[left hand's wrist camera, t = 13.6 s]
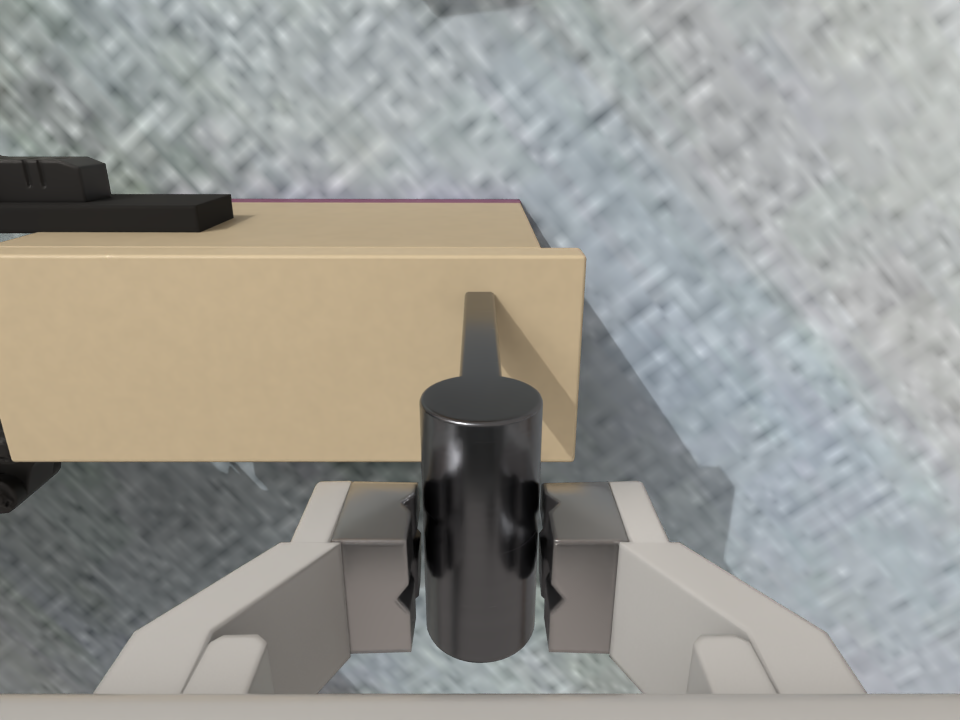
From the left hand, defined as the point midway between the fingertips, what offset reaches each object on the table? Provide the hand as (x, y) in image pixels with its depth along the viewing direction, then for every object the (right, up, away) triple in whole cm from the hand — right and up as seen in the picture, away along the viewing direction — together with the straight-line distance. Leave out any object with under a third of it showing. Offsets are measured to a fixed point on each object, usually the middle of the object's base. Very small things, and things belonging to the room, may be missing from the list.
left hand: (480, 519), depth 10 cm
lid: (-5, +3, +7) cm, 9 cm away
